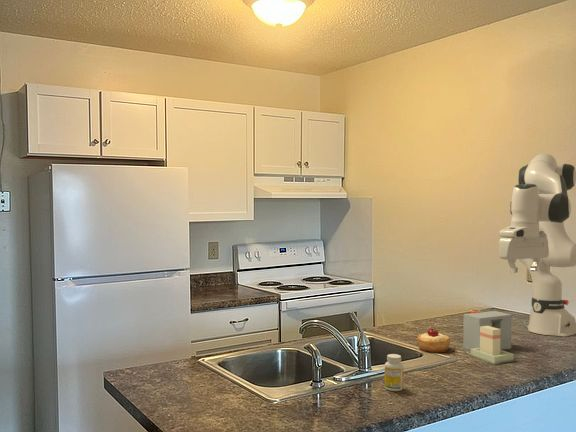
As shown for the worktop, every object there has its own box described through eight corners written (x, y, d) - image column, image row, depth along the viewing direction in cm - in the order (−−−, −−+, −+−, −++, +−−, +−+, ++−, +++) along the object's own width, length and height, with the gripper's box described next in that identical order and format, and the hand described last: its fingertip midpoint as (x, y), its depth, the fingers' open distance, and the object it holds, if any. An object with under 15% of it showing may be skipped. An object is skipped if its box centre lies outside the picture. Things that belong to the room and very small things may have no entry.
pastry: (416, 345, 208) (416, 322, 208) (448, 347, 205) (448, 323, 206) (417, 353, 196) (417, 328, 196) (451, 354, 194) (451, 329, 194)
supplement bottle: (395, 392, 154) (396, 359, 154) (380, 388, 158) (380, 355, 158) (406, 388, 158) (407, 355, 157) (391, 384, 162) (391, 352, 161)
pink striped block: (487, 353, 193) (487, 325, 193) (500, 357, 188) (500, 329, 188) (479, 354, 192) (479, 326, 192) (492, 358, 186) (492, 330, 186)
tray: (489, 353, 196) (489, 346, 196) (513, 361, 186) (513, 353, 186) (470, 355, 192) (470, 348, 192) (494, 364, 182) (494, 356, 182)
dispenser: (494, 343, 210) (495, 310, 210) (511, 348, 203) (511, 314, 202) (463, 347, 203) (463, 314, 203) (479, 353, 196) (479, 318, 196)
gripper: (538, 230, 191) (537, 269, 191) (495, 231, 182) (495, 272, 182) (554, 231, 185) (553, 271, 185) (510, 232, 176) (510, 274, 177)
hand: (524, 271), depth 184 cm, fingers open, 8 cm apart
